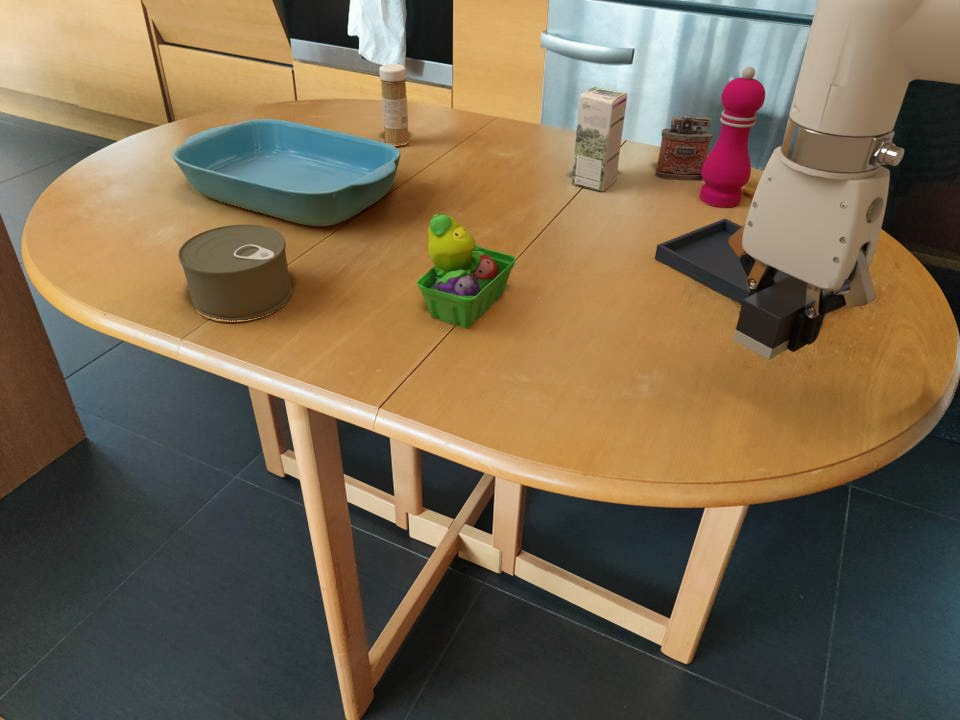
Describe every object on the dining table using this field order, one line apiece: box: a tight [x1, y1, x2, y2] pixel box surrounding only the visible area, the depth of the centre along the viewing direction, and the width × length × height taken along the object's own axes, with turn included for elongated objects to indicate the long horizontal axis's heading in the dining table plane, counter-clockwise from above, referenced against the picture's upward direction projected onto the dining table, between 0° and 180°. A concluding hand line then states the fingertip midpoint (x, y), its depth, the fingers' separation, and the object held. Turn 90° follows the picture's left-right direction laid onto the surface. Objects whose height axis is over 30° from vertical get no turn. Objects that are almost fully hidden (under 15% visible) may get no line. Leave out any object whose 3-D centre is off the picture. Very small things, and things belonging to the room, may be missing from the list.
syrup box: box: [571, 86, 628, 193], centre depth 113 cm, size 6×6×14 cm
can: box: [177, 224, 292, 321], centre depth 85 cm, size 12×12×7 cm
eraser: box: [732, 276, 807, 361], centre depth 66 cm, size 4×8×4 cm, turn 127°
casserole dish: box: [171, 118, 401, 228], centre depth 110 cm, size 37×22×7 cm, turn 61°
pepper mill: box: [699, 66, 766, 208], centre depth 107 cm, size 7×7×20 cm
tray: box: [654, 218, 850, 305], centre depth 93 cm, size 21×14×2 cm
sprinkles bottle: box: [378, 63, 410, 145], centre depth 127 cm, size 5×5×14 cm
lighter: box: [654, 114, 714, 182], centre depth 117 cm, size 8×3×10 cm, turn 82°
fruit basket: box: [416, 213, 517, 330], centre depth 83 cm, size 11×9×11 cm
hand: (777, 332), depth 67 cm, fingers closed on eraser, 4 cm apart
